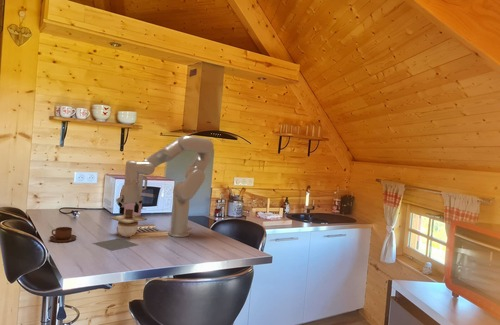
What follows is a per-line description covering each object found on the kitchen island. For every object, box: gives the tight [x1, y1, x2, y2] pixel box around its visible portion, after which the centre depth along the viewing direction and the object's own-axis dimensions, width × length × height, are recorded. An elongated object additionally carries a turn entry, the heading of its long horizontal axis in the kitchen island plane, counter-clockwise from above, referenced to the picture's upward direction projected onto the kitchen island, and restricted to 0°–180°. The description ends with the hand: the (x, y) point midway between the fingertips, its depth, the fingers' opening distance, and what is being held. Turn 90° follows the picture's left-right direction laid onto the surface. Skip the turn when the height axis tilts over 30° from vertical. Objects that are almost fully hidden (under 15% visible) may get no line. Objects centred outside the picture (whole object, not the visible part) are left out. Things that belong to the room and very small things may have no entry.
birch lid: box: [109, 209, 148, 223], centre depth 193 cm, size 14×14×5 cm
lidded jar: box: [117, 221, 139, 238], centre depth 193 cm, size 11×11×9 cm
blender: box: [123, 174, 148, 217], centre depth 242 cm, size 16×12×32 cm
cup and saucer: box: [49, 226, 77, 243], centre depth 174 cm, size 12×12×6 cm
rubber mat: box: [92, 238, 139, 252], centre depth 175 cm, size 16×16×1 cm
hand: (129, 213), depth 193 cm, fingers open, 9 cm apart
